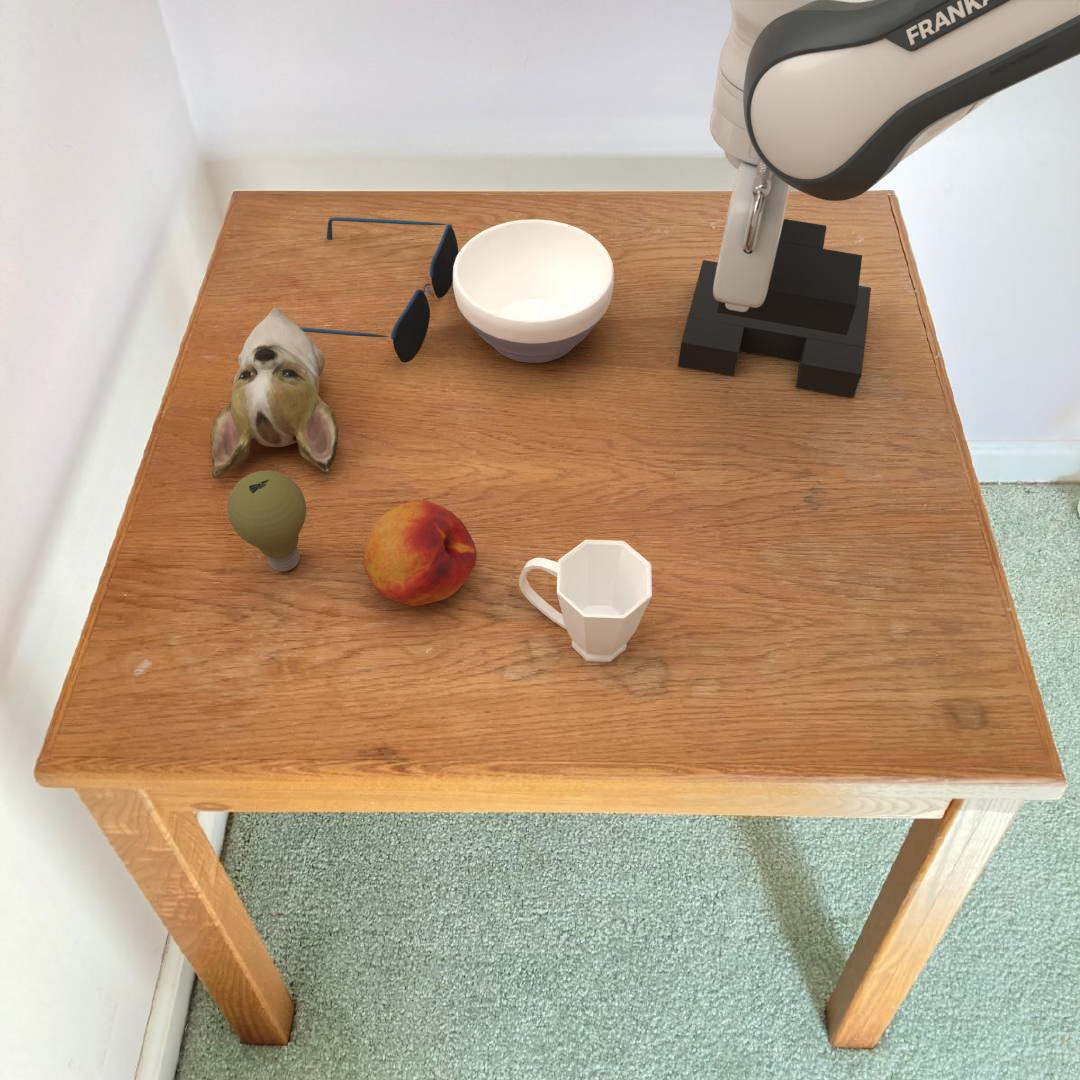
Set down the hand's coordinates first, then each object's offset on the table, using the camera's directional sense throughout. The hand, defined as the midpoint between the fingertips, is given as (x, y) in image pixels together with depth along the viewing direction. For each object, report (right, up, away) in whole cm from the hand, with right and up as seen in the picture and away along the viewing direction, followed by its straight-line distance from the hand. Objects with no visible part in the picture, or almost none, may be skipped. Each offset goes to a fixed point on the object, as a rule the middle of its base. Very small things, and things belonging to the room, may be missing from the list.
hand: (744, 274), depth 80 cm
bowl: (-16, -1, +18) cm, 24 cm away
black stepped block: (+4, -1, +2) cm, 4 cm away
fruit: (-25, -24, 0) cm, 35 cm away
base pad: (+6, -2, +17) cm, 18 cm away
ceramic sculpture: (-38, -11, +10) cm, 41 cm away
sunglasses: (-33, +2, +20) cm, 39 cm away
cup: (-13, -28, -2) cm, 31 cm away
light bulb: (-36, -23, +2) cm, 43 cm away
